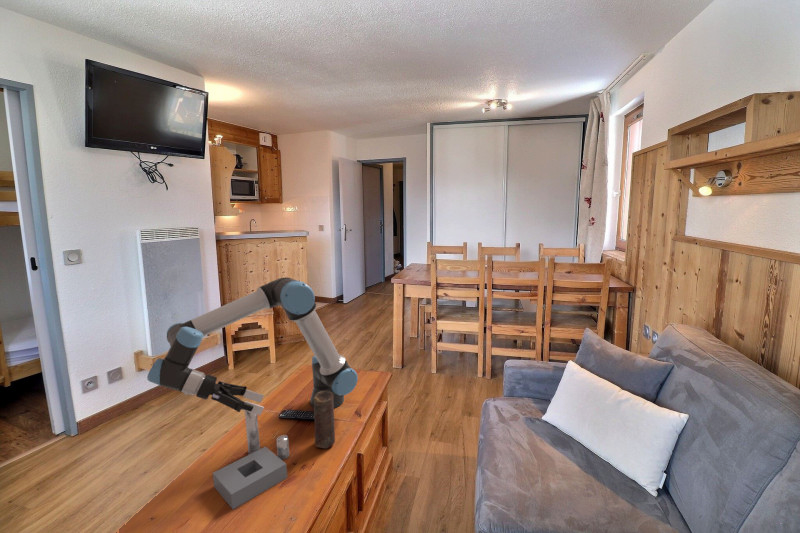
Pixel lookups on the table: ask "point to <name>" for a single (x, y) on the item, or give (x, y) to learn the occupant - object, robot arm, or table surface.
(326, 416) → the brown textured cylinder
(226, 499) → the guide block
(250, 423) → the long pin
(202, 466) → the table surface
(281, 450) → the short pin
